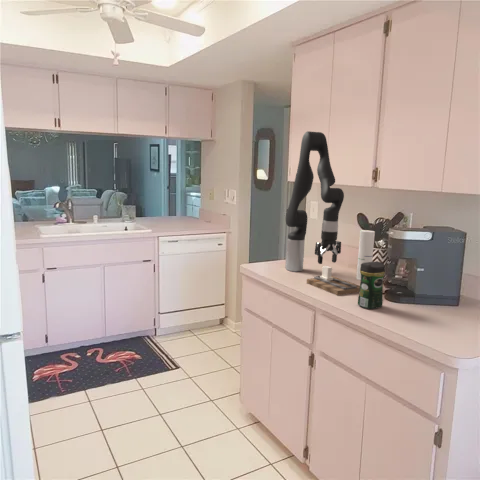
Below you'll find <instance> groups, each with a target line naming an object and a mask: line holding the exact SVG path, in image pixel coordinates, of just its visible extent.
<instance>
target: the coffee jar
mask: <svg viewBox="0 0 480 480" xmlns="http://www.w3.org/2000/svg"><path fill="white" fill-rule="evenodd" d="M360 273H361V280H360V285H359V286H360V291H359V292H358V298H357V305H358V306H359V307H360V308H363V309H368V310H373V309H375V310H376V309H379V308H382V306H383V304H384V301H383V300H384V299H383V298H384V297H383V292H384V291H383V290H384V289H383V288H384V286H383V285H384V277H385V273H386V265H385V264H384V263H383V262H380V261H378V260H377V261H372V262H366V263H362V264H361V268H360Z"/></svg>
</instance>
